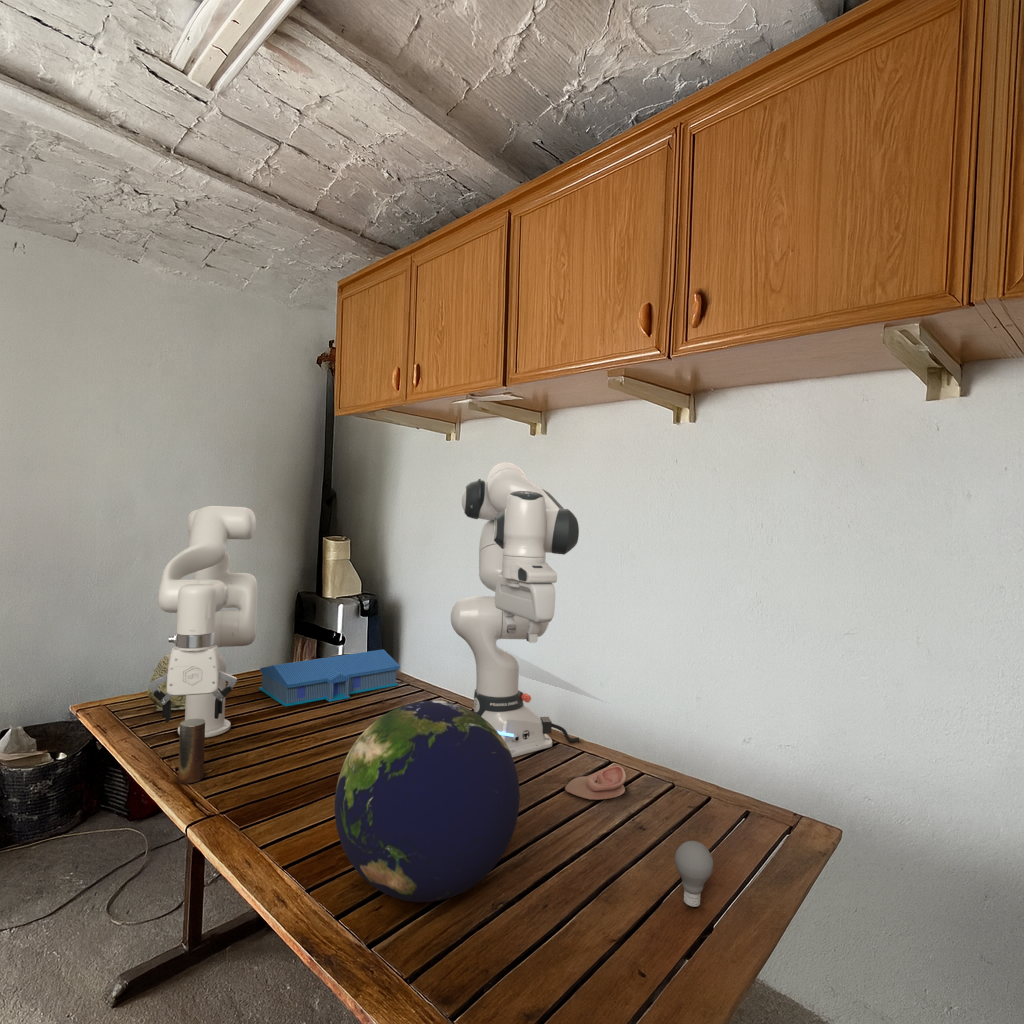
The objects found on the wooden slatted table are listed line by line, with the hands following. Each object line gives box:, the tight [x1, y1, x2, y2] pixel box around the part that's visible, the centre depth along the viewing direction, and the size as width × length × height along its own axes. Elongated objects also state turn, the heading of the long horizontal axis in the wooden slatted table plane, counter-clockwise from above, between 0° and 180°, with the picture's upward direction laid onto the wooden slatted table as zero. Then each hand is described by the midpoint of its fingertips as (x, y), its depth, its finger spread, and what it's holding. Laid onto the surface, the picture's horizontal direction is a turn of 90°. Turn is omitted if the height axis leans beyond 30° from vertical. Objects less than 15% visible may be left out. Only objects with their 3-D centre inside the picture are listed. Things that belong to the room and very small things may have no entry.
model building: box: [258, 649, 401, 707], centre depth 208 cm, size 39×24×10 cm, turn 132°
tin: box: [177, 719, 206, 785], centre depth 139 cm, size 5×5×12 cm
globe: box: [334, 700, 521, 903], centre depth 104 cm, size 30×30×30 cm
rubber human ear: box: [564, 765, 627, 801], centre depth 143 cm, size 13×4×12 cm
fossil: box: [147, 654, 186, 712], centre depth 185 cm, size 9×18×15 cm, turn 132°
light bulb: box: [674, 840, 714, 907], centre depth 103 cm, size 6×6×10 cm
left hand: (192, 718), depth 139 cm, fingers open, 9 cm apart
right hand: (520, 637), depth 130 cm, fingers open, 8 cm apart
